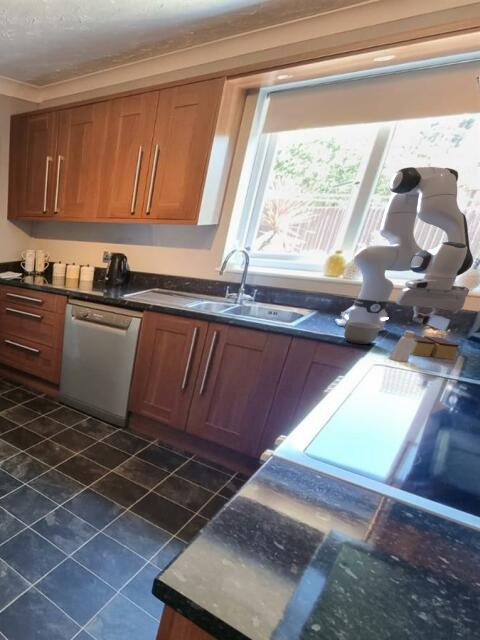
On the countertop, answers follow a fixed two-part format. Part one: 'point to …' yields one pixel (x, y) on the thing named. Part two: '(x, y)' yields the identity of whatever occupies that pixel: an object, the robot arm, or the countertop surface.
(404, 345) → the pepper shaker
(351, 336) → the teacup
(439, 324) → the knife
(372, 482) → the countertop surface
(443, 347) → the two-panel tan box
